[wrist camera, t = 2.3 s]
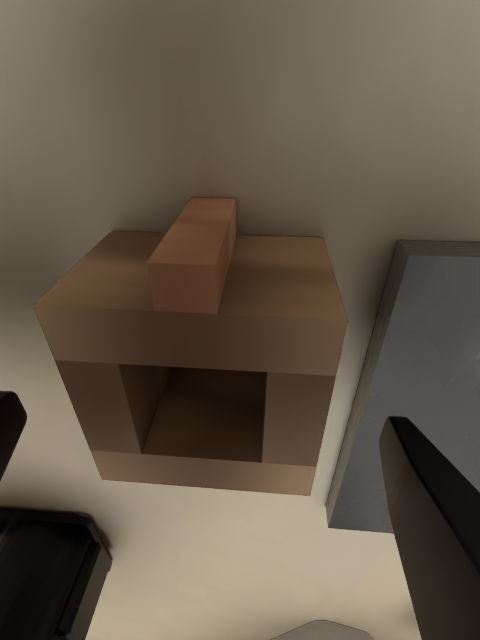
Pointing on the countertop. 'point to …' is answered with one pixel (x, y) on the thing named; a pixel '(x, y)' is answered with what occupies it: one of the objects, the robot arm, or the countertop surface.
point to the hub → (415, 376)
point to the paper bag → (324, 632)
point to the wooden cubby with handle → (200, 352)
